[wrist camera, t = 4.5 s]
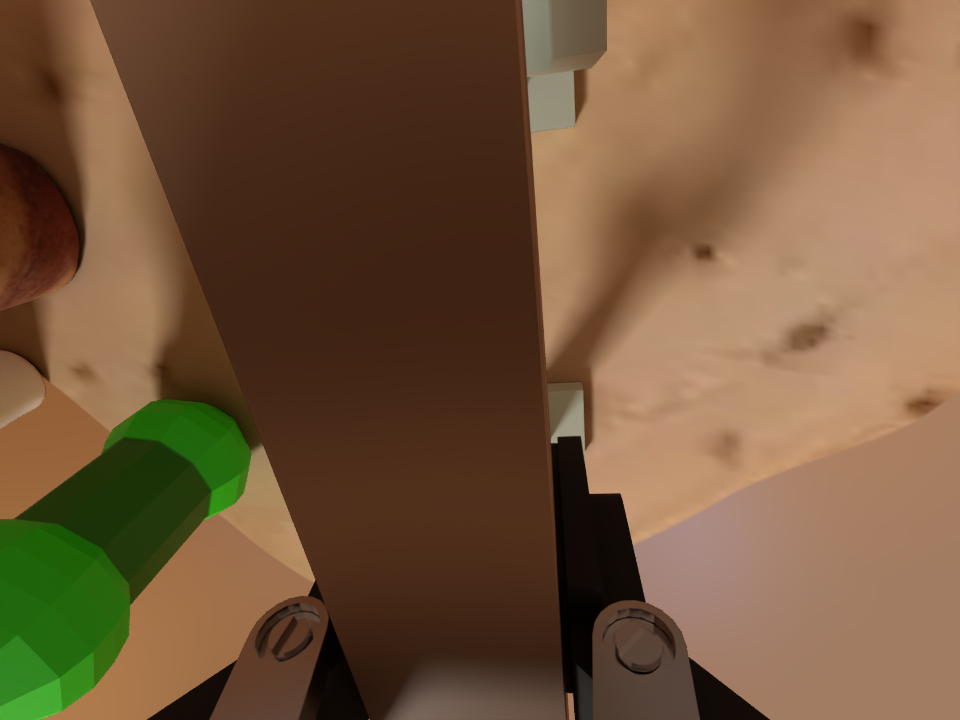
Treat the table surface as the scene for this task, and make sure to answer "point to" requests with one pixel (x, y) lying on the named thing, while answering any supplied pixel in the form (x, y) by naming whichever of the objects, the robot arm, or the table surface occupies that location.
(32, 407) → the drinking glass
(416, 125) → the walnut rail
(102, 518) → the plastic bottle
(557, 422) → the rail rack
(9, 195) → the wafer roll
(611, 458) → the table surface
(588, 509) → the robot arm
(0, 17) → the table surface
